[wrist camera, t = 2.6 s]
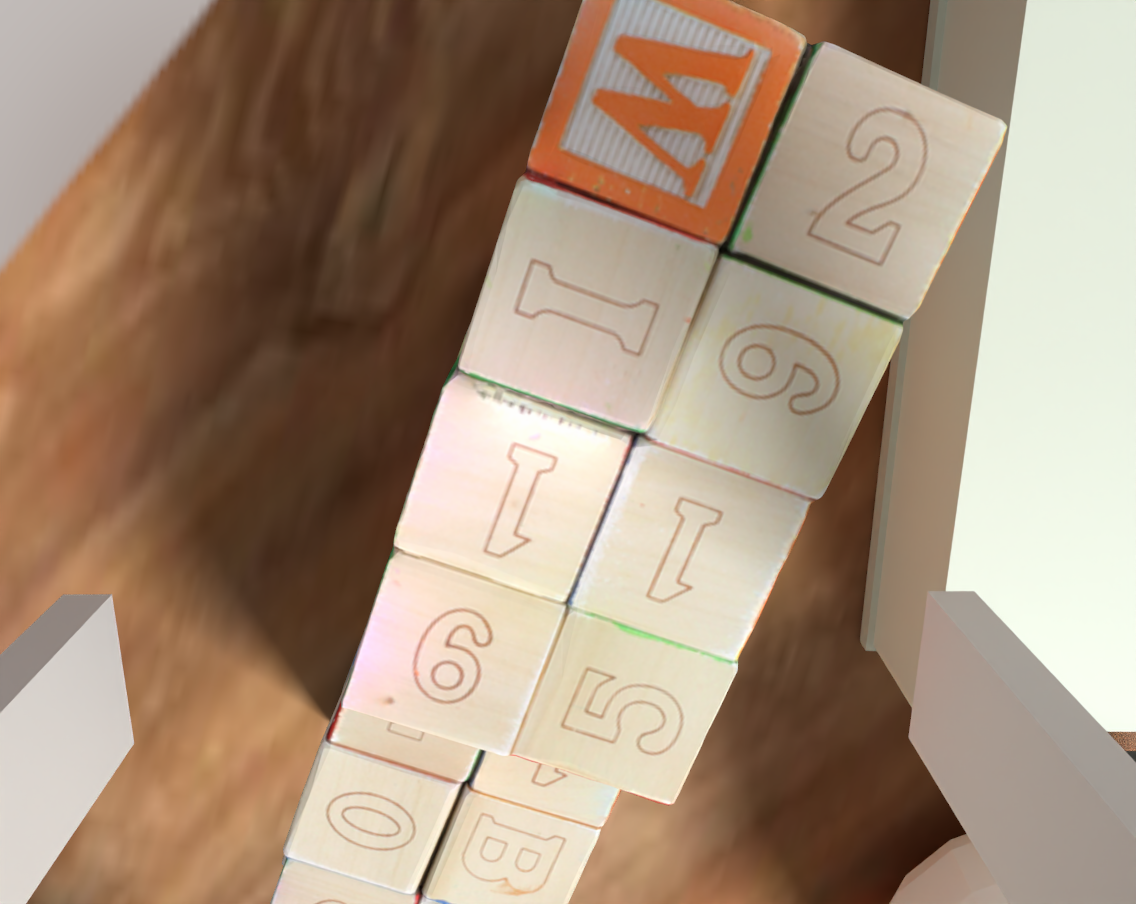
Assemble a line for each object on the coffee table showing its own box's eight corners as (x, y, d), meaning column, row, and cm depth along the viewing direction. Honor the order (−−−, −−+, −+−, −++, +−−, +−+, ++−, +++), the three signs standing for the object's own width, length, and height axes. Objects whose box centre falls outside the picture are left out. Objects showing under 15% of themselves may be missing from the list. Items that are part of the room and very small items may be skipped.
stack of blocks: (518, 785, 31) (495, 1176, 19) (329, 725, 30) (186, 1092, 19) (809, 126, 25) (1028, 117, 13) (582, 29, 24) (605, -68, 13)
